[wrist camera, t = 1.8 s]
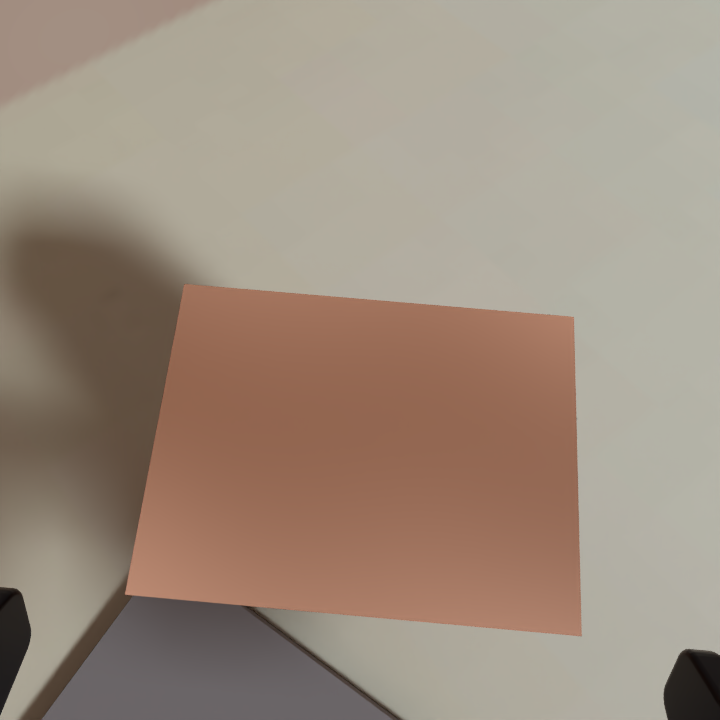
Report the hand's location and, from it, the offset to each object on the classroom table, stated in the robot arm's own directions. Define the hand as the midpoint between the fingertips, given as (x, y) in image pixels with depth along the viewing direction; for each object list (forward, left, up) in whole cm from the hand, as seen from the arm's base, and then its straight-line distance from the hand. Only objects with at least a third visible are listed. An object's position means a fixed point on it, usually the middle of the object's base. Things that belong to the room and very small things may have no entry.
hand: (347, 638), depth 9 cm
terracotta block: (+2, +1, -10) cm, 10 cm away
